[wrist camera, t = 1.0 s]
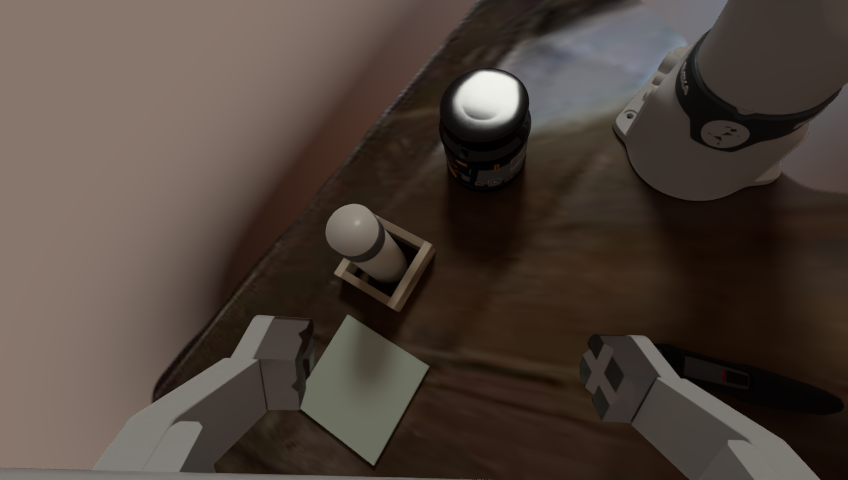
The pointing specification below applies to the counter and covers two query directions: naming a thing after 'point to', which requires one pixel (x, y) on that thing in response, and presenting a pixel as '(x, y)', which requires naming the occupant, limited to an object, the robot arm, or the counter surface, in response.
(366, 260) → the white capsule post
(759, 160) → the robot arm
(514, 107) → the supplement container
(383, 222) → the square wooden frame
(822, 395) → the electric trimmer
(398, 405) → the mat
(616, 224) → the counter surface
